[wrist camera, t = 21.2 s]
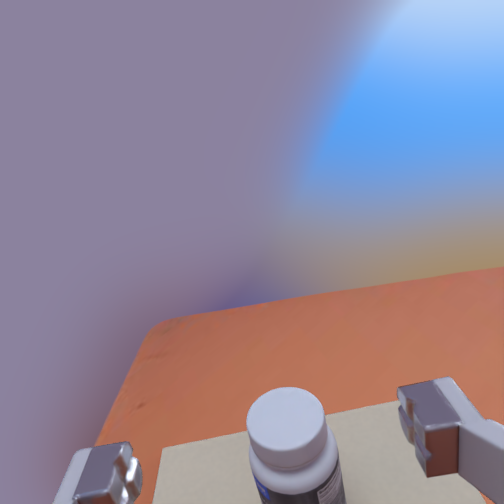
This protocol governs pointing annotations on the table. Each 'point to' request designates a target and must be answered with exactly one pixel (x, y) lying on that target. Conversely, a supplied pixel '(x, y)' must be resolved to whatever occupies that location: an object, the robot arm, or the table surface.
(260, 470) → the pill bottle
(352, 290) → the table surface
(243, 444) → the cream mat
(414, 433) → the robot arm
